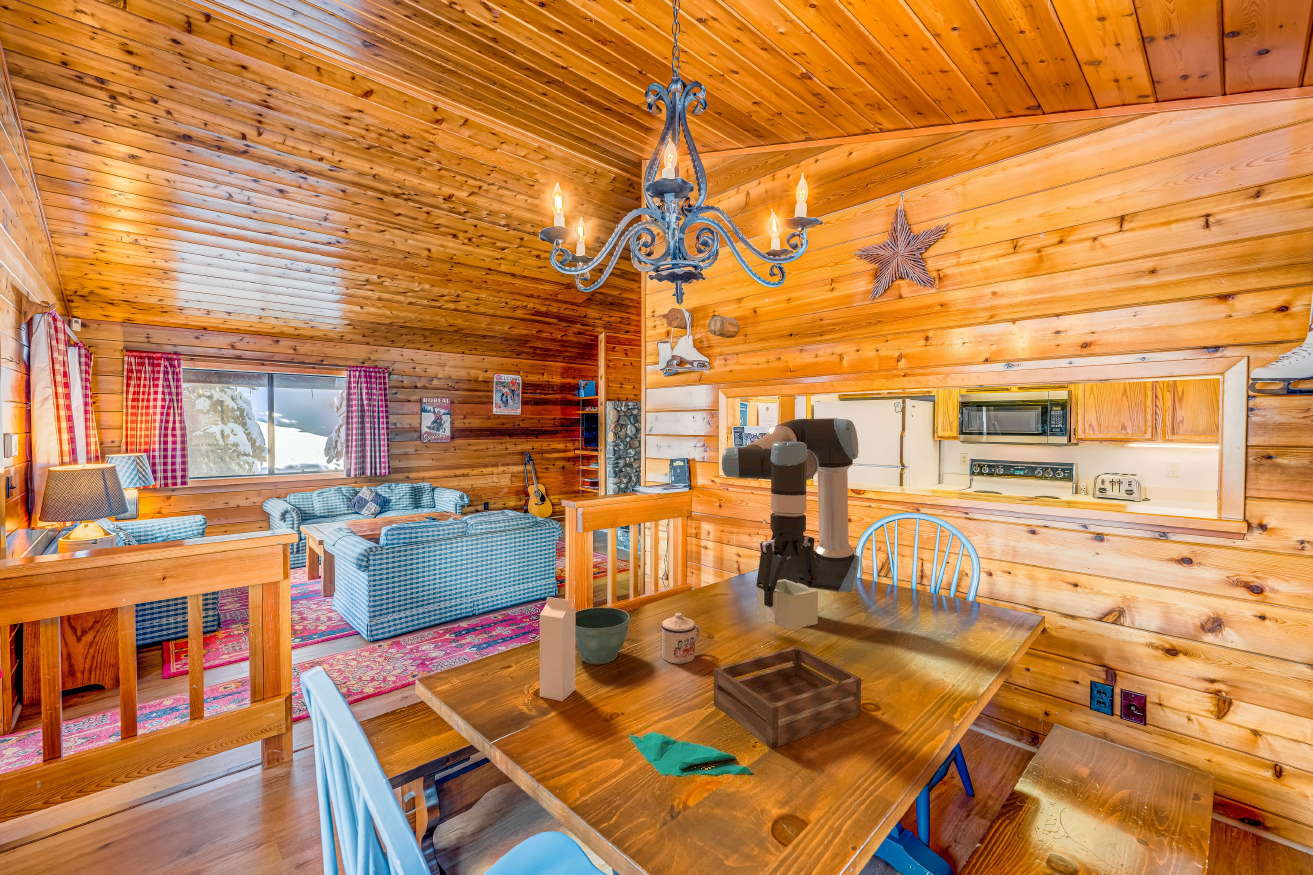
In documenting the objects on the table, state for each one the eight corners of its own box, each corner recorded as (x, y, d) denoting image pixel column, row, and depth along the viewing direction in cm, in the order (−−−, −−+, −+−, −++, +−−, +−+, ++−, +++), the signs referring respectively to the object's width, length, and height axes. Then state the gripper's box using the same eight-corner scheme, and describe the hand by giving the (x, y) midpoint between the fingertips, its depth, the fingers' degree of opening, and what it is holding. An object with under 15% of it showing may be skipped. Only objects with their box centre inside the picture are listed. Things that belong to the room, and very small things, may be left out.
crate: (796, 678, 133) (797, 645, 132) (860, 714, 116) (861, 677, 116) (713, 704, 120) (713, 668, 120) (771, 749, 104) (772, 707, 103)
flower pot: (556, 656, 144) (556, 616, 144) (603, 639, 155) (603, 602, 155) (593, 677, 132) (593, 633, 132) (641, 657, 144) (642, 617, 144)
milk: (553, 685, 129) (553, 592, 128) (575, 689, 126) (576, 595, 126) (539, 697, 123) (539, 600, 122) (562, 702, 121) (562, 603, 120)
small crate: (784, 609, 124) (784, 579, 124) (817, 623, 115) (817, 590, 115) (757, 615, 120) (757, 583, 120) (789, 630, 111) (789, 596, 111)
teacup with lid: (675, 667, 138) (675, 622, 138) (654, 655, 145) (654, 612, 145) (710, 656, 145) (711, 613, 145) (689, 644, 152) (689, 603, 152)
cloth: (607, 749, 104) (607, 738, 104) (652, 719, 115) (652, 708, 115) (722, 811, 88) (722, 797, 88) (762, 769, 99) (763, 757, 99)
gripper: (810, 507, 125) (809, 604, 126) (739, 514, 115) (737, 620, 116) (835, 511, 119) (834, 614, 119) (762, 519, 109) (761, 632, 109)
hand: (786, 617), depth 118 cm, fingers closed on small crate, 8 cm apart
